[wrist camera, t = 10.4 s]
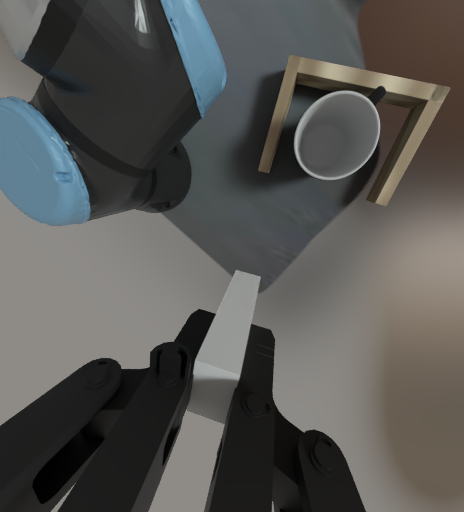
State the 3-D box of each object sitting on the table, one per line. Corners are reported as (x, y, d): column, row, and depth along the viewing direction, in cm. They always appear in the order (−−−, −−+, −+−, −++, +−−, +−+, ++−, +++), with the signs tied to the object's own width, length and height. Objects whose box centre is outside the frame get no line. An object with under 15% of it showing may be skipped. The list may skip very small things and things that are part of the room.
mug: (317, 190, 36) (327, 196, 26) (280, 149, 35) (277, 142, 26) (387, 126, 31) (430, 107, 21) (345, 77, 30) (371, 36, 21)
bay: (260, 170, 37) (257, 170, 33) (289, 68, 31) (289, 54, 27) (375, 202, 34) (386, 206, 31) (429, 98, 28) (450, 87, 25)
